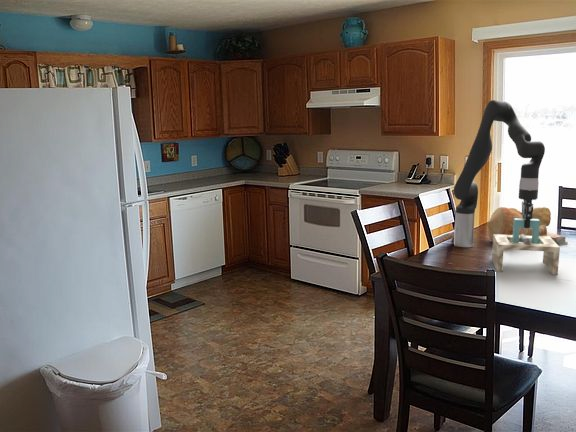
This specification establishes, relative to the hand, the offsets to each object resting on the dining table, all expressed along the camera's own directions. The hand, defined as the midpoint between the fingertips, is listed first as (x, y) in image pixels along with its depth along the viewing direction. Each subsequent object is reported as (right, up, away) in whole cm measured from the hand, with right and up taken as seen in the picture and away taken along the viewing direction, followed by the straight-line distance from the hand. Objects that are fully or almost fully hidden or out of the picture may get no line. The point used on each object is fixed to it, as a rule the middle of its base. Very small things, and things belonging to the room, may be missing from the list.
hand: (525, 226), depth 243 cm
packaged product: (+32, -9, +49) cm, 60 cm away
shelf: (0, -18, +3) cm, 18 cm away
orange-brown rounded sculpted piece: (+14, -10, +45) cm, 48 cm away
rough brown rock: (+31, -4, +72) cm, 78 cm away
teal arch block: (0, -9, +2) cm, 9 cm away
